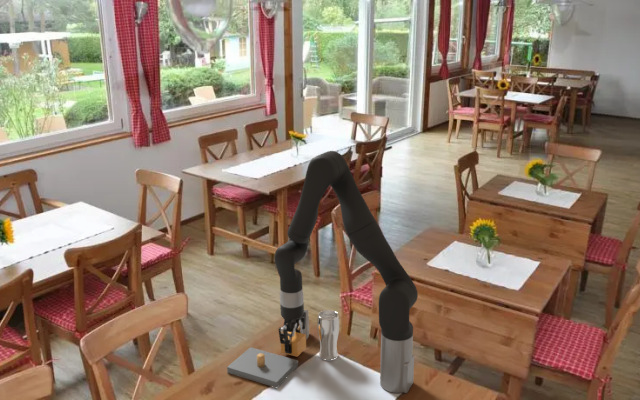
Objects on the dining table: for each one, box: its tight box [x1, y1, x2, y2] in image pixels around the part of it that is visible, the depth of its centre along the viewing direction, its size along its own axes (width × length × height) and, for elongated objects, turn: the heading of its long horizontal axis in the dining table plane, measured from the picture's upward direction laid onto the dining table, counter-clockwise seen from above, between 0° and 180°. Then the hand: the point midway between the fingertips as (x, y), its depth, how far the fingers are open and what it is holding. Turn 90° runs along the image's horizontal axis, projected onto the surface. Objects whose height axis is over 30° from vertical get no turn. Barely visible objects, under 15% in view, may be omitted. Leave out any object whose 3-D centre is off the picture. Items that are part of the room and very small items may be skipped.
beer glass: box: [316, 309, 340, 360], centre depth 190 cm, size 7×7×15 cm
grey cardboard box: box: [301, 309, 310, 340], centre depth 204 cm, size 4×7×10 cm, turn 83°
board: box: [226, 347, 299, 388], centre depth 185 cm, size 18×13×6 cm
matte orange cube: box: [280, 332, 307, 357], centre depth 193 cm, size 6×6×5 cm
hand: (293, 347), depth 193 cm, fingers closed on matte orange cube, 6 cm apart
